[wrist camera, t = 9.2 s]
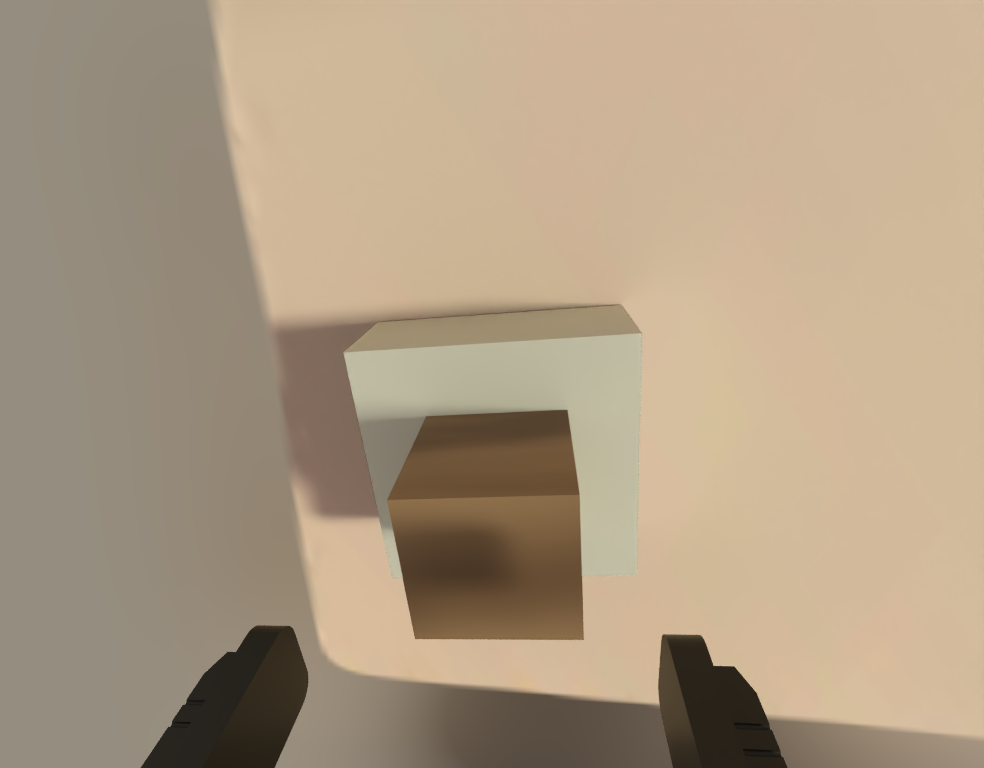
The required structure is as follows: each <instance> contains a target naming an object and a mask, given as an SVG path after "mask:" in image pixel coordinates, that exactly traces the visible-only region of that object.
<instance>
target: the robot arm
mask: <svg viewBox="0 0 984 768" xmlns="http://www.w3.org/2000/svg"><path fill="white" fill-rule="evenodd" d="M307 687H308V672H307V668H306V665H305V662H304V659H303V656H302V653H301V650H300V647H299V644H298V641H297V638H296V635H295V632H294V630H293V628H292V627H290V626H255V627H254V628H252V629H251V630H250V631H249V633H248V634H247V636H246V637H245V639H244V640H243V642H242V644H241V645H240V647H239V648H238V650H237V651H236V652H227V653H226V654H225V655H224V656H223V657H222V658H221V659H220V660H218V661H217V662H216V663H215V664H214V665H213V666H212V667H211V668H210V669H209V670H208V671H207V672H205V673H204V675H203V676H202V678H201V679H200V681H199V682H198V684H197V685H196V687H195V688H194V689H193V691H192V692H191V694H190V695H189V697H188V699H187V702H186V704H185V705H183V706H182V707H181V709H180V710H179V712H178V713H177V715H176V716H175V718H174V719H173V721H172V725H171V727H168V728H167V730H166V731H165V733H164V734H163V736H162V737H161V738H160V740H159V742H158V743H157V745H156V746H155V747H154V749H153V750H152V752H151V753H150V755H149V756H148V758H147V759H146V761H145V762H144V764H143V765H142V767H141V768H275V765H276V763H277V761H278V759H279V757H280V754H281V752H282V750H283V748H284V745H285V743H286V741H287V739H288V736H289V734H290V732H291V730H292V727H293V725H294V723H295V721H296V719H297V716H298V714H299V712H300V710H301V707H302V705H303V702H304V700H305V697H306V692H307ZM658 689H659V702H660V709H661V714H662V720H663V725H664V729H665V733H666V738H667V743H668V747H669V751H670V756H671V760H672V765H673V768H787V765H786V763H785V761H784V758H783V757H782V756H781V753H780V749H779V746H778V744H777V741H776V739H775V737H774V734H773V732H772V730H770V727H769V722H768V720H767V717H766V715H765V712H764V710H763V708H762V705H761V703H760V700H759V698H758V696H757V693H756V692H755V691H754V690H753V688H752V687H751V686H750V685H749V684H748V682H747V681H746V680H745V679H744V678H743V676H742V675H741V674H740V673H739V672H738V670H737V669H736V668H735V667H731V666H713V663H712V660H711V657H710V654H709V652H708V649H707V646H706V643H705V641H704V639H703V637H702V636H701V635H665V634H664V635H663V636H662V640H661V654H660V668H659V682H658Z"/></svg>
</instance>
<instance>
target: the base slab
mask: <svg viewBox="0 0 984 768" xmlns="http://www.w3.org/2000/svg"><path fill="white" fill-rule="evenodd" d="M343 353H344V358H345V362H346V367H347V372H348V376H349V381H350V386H351V390H352V395H353V399H354V404H355V409H356V413H357V418H358V422H359V427H360V432H361V436H362V441H363V445H364V450H365V455H366V459H367V464H368V468H369V473H370V478H371V482H372V487H373V492H374V496H375V501H376V505H377V510H378V515H379V519H380V524H381V528H382V533H383V538H384V542H385V547H386V551H387V556H388V561H389V565H390V570H391V574H392V578H403V577H402V572H401V567H400V562H399V557H398V552H397V547H396V542H395V537H394V532H393V527H392V522H391V518H390V513H389V508H388V503H387V499H388V497H389V495H390V492H391V490H392V488H393V486H394V484H395V482H396V480H397V477H398V475H399V473H400V471H401V469H402V467H403V465H404V463H405V460H406V458H407V456H408V454H409V452H410V450H411V448H412V445H413V443H414V441H415V439H416V437H417V435H418V433H419V431H420V428H421V426H422V424H423V422H424V420H425V418H426V416H443V415H465V414H486V413H508V412H530V411H551V410H568V417H569V424H570V431H571V438H572V445H573V451H574V458H575V465H576V472H577V479H578V486H579V493H580V524H581V560H582V576H637V539H638V496H639V452H640V409H641V366H642V332H641V331H640V329H639V328H638V327H637V325H636V324H635V322H634V321H633V320H632V318H631V317H630V315H629V314H628V313H627V311H626V310H625V309H624V307H623V306H622V305H611V306H597V307H583V308H569V309H555V310H541V311H527V312H513V313H499V314H485V315H471V316H457V317H443V318H429V319H415V320H401V321H387V322H378V323H376V324H375V325H374V326H373V327H372V328H371V329H370V330H368V331H367V332H366V333H365V334H364V335H363V336H362V337H360V338H359V339H358V340H357V341H356V342H355V343H354V344H353V345H351V346H350V347H349V348H348V349H347V350H346V351H345V352H343Z"/></svg>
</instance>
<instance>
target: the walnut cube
mask: <svg viewBox="0 0 984 768" xmlns="http://www.w3.org/2000/svg"><path fill="white" fill-rule="evenodd" d="M387 503H388V508H389V513H390V518H391V522H392V527H393V532H394V537H395V542H396V547H397V552H398V557H399V562H400V567H401V572H402V577H403V581H404V586H405V591H406V596H407V601H408V606H409V611H410V616H411V621H412V626H413V631H414V636H415V639H530V640H584V634H583V597H582V560H581V524H580V493H579V486H578V479H577V472H576V465H575V458H574V451H573V445H572V438H571V431H570V424H569V417H568V410H551V411H530V412H508V413H486V414H465V415H443V416H426V418H425V420H424V422H423V424H422V426H421V428H420V431H419V433H418V435H417V437H416V439H415V441H414V443H413V445H412V448H411V450H410V452H409V454H408V456H407V458H406V460H405V463H404V465H403V467H402V469H401V471H400V473H399V475H398V477H397V480H396V482H395V484H394V486H393V488H392V490H391V492H390V495H389V497H388V499H387Z"/></svg>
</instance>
